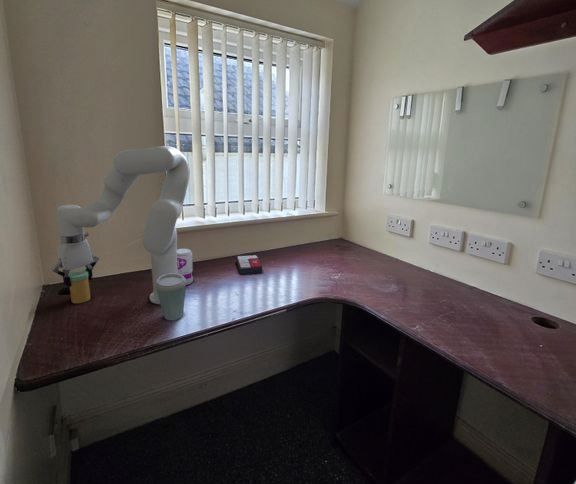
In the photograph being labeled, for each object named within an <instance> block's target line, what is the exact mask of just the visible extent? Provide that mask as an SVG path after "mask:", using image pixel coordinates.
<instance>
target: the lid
mask: <svg viewBox="0 0 576 484" xmlns="http://www.w3.org/2000/svg"><path fill="white" fill-rule="evenodd" d="M68 276H69V277H70V281H80V280H84V279H86V278H88V276H89V273H88V271H86V269H85V270H84V269H79V270H74V271H72V272H71V271H70V272H69V275H68Z"/></svg>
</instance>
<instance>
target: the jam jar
mask: <svg viewBox="0 0 576 484" xmlns="http://www.w3.org/2000/svg"><path fill="white" fill-rule="evenodd" d="M68 288H69V295H70V301H71V303H72V304H83V303H86V302H88V301H90V300H91V299H92V298H91V297H92V296H91V289H90V280H88V278H86V279H84V280H80V281H71V287H68Z"/></svg>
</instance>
